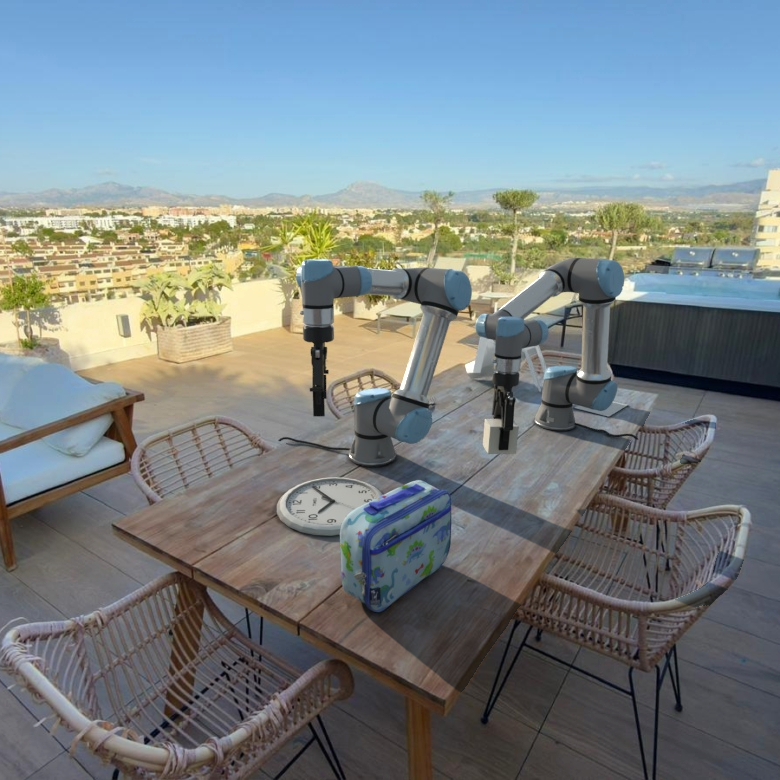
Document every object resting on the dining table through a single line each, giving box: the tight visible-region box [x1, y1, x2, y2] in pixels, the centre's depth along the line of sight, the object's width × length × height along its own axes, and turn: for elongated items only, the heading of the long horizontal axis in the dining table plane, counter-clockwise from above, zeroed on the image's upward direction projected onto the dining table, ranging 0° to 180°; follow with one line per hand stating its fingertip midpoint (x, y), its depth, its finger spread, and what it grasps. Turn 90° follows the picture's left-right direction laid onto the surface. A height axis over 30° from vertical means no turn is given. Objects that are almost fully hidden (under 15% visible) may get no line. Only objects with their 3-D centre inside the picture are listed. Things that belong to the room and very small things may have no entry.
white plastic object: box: [464, 336, 548, 393], centre depth 256 cm, size 37×45×31 cm
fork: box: [428, 395, 437, 406], centre depth 223 cm, size 3×16×2 cm, turn 160°
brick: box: [482, 418, 520, 455], centre depth 157 cm, size 8×6×9 cm
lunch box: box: [339, 479, 452, 613], centre depth 109 cm, size 26×11×21 cm, turn 134°
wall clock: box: [276, 476, 385, 537], centre depth 142 cm, size 30×2×30 cm
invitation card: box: [573, 400, 629, 418], centre depth 226 cm, size 21×1×15 cm
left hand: (320, 406), depth 134 cm, fingers open, 13 cm apart
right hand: (499, 444), depth 158 cm, fingers closed on brick, 6 cm apart
